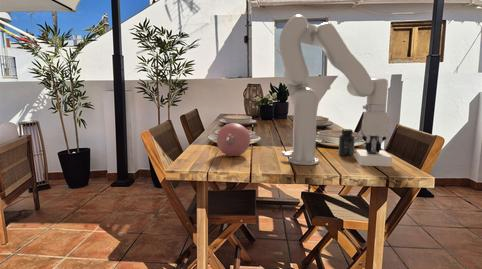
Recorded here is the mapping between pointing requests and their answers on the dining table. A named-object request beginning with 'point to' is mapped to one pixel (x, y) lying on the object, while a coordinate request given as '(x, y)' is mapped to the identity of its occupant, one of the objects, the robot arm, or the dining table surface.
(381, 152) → the socket block
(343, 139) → the supplement bottle
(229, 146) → the pink rounded piece
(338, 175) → the dining table surface
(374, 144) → the red topped grey cylinder
